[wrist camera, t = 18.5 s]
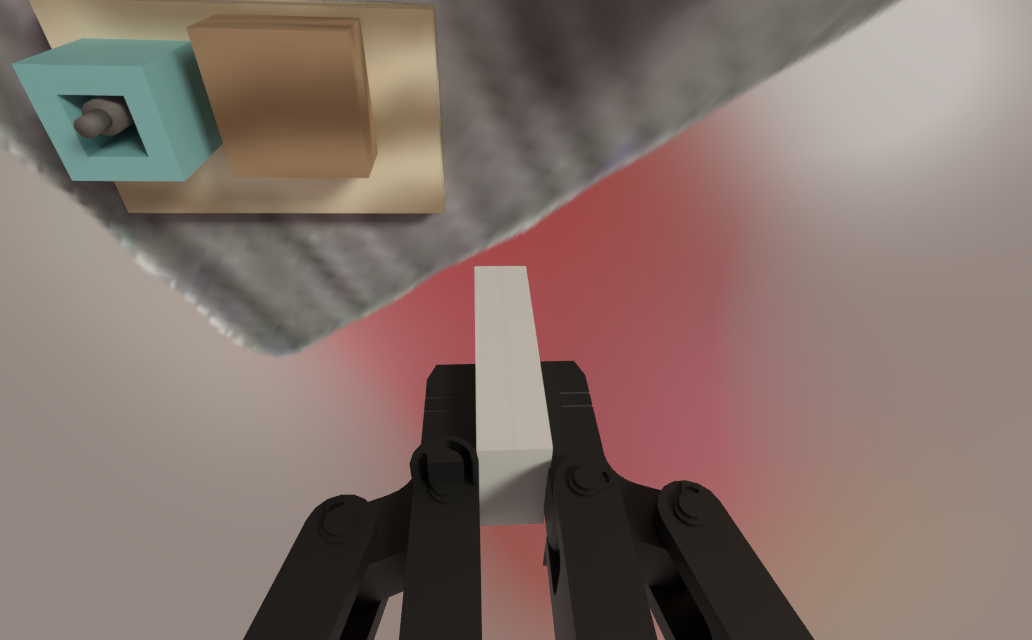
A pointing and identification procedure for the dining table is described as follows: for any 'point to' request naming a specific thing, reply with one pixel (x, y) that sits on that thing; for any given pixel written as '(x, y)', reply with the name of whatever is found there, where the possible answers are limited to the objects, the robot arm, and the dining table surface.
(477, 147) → the dining table surface
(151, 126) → the teal hollow cube
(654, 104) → the dining table surface
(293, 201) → the base board
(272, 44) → the block
